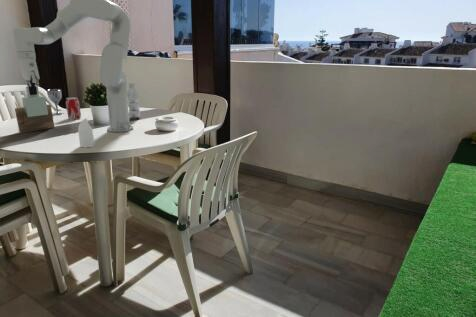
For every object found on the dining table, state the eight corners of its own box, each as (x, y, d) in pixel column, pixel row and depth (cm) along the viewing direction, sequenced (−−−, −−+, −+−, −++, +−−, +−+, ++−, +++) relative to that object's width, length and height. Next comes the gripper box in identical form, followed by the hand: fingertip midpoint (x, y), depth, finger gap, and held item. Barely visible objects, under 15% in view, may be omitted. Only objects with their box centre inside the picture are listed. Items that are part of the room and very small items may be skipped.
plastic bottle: (136, 116, 213) (133, 83, 206) (143, 118, 209) (140, 83, 202) (126, 118, 208) (123, 84, 202) (133, 120, 204) (130, 84, 198)
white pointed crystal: (73, 119, 147) (83, 116, 152) (77, 146, 151) (87, 143, 156) (84, 120, 145) (94, 118, 150) (87, 148, 149) (97, 145, 154)
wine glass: (51, 113, 223) (47, 89, 218) (65, 112, 225) (62, 88, 221) (49, 115, 216) (45, 90, 211) (63, 115, 218) (60, 90, 213)
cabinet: (48, 114, 177) (43, 86, 173) (28, 116, 171) (23, 87, 167) (44, 113, 180) (40, 85, 176) (25, 115, 174) (19, 86, 170)
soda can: (76, 120, 204) (73, 99, 200) (65, 119, 205) (62, 98, 202) (83, 117, 211) (81, 97, 207) (73, 117, 212) (70, 97, 208)
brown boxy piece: (56, 128, 184) (53, 105, 180) (22, 133, 173) (17, 109, 169) (49, 125, 191) (45, 103, 187) (15, 130, 180) (11, 106, 176)
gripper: (40, 55, 164) (47, 95, 170) (29, 54, 175) (36, 92, 180) (22, 56, 159) (29, 97, 165) (12, 55, 169) (19, 93, 175)
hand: (33, 94), depth 173 cm, fingers closed on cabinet, 1 cm apart
